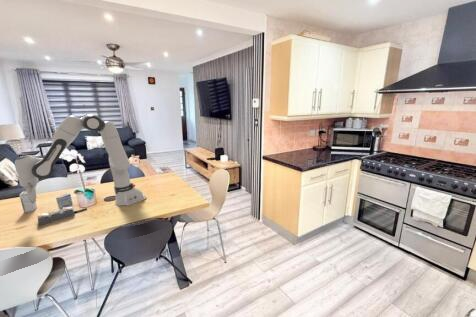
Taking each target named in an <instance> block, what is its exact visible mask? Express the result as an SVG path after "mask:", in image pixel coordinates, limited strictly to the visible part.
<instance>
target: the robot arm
mask: <svg viewBox="0 0 476 317" xmlns="http://www.w3.org/2000/svg"><path fill="white" fill-rule="evenodd" d="M82 130H87V131H90V132H99V134H100V136H101V139H102V143H103V145H104V148H105V150H106V153H107V154H108V163H109V168H110V171H111V174H112V178H113V179H112V180H113V183H114V184H113V185H114V186H113V189H114V194H115V203H114V205H116V206H119V207H121V206H126V207H128V206H132V205H134V204H136V203H137V204H138V203H139V202H142V201H144V200H146V199H147V195H145V194H144V193H143V192H142V190H141V189H140V188H137V187H136V184H134V183H132V182H131V179H130V174H129V171H128V168H129V167H130V160H129V158H128V155H127V152H126V150H125V148H124V147H123V146H124V145H123V144H122V141H121V137H120V134H119V132H118V130H117V127H116V125H115V123H114V122H112V121H109V120H106V121H104V120H102V119H101V118H100V116H98V115H96V114H94V113H88V114H87V113H86V114H84V115H82V116H80V117H78V116H76V115H68V116H66V117H65V118H64V119H63V120H62V121H61V122H60V124H59V125H58V127H57V128H56V130H55V132H54V134H53V136H52V142H51V145H50V147H49V150H47V152H46V154H45V155H44V157H37V156H33V155H30V154H26V155H21V156H18V157H17V158H15V160H14V167H15V173H17V175H18V176H17V179H18V182H19V186H20V187H23V188H24V189H25V191H27V196H28V199H29V200H32V202H35V203H36V202H37V185H38V184H39V183H40V180H41V179H42V180H44V179H47V178H48V179H49V178H50V177H52V176H53V174H54V171H55V165H56V163H57V161H58V159H59V158H60V156H61V155H62V154H63V152H64V151H65V150H66V149H67V148H68V147H69V146H70V145H71V143H73V142H74V141H75V140H76V138H77V136H79V134H80V132H81V131H82ZM39 179H40V180H39Z"/></svg>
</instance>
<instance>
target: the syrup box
mask: <svg viewBox="0 0 476 317" xmlns="http://www.w3.org/2000/svg"><path fill="white" fill-rule="evenodd" d="M18 196H19V199H20V202H21V203H20V204H21V205H22V210H23V213H30V212H34V211H35V210H36V209H37V208H38V207H37V203H36V202H32V200H29V199H28V196H27V191H26V190H25V191H24V190H23V191H22V192H21V193H20V194H19V195H18Z"/></svg>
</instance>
